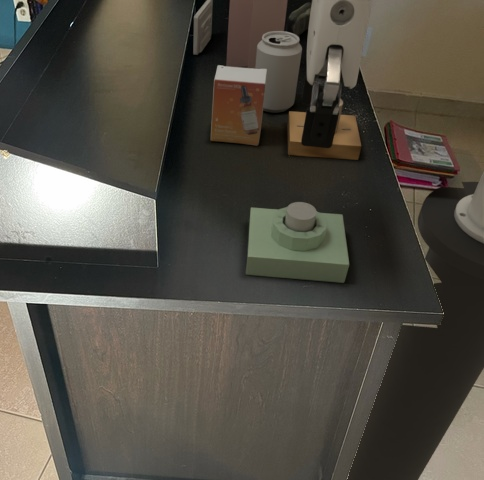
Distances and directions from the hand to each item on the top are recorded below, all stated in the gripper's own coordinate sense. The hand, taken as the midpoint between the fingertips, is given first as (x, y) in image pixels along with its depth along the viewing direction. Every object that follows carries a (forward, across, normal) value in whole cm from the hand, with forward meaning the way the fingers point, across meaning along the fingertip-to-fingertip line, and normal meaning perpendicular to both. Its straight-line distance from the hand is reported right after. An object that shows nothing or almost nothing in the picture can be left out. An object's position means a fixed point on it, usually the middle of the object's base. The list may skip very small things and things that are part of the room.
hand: (315, 123), depth 64 cm
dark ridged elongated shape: (+16, +74, 0) cm, 76 cm away
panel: (+16, +27, -4) cm, 32 cm away
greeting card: (+17, +52, +8) cm, 55 cm away
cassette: (+17, +64, +20) cm, 69 cm away
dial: (+14, +27, -4) cm, 30 cm away
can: (+17, +38, +4) cm, 42 cm away
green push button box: (+17, -2, 0) cm, 17 cm away
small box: (+17, +26, +10) cm, 33 cm away
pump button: (+12, -3, 0) cm, 12 cm away
